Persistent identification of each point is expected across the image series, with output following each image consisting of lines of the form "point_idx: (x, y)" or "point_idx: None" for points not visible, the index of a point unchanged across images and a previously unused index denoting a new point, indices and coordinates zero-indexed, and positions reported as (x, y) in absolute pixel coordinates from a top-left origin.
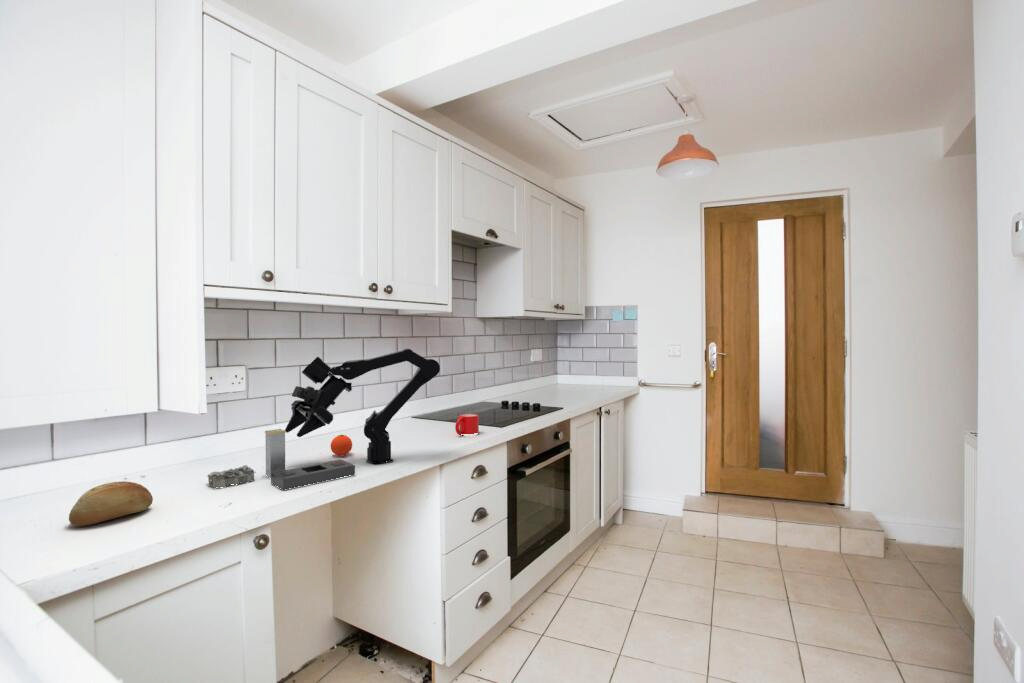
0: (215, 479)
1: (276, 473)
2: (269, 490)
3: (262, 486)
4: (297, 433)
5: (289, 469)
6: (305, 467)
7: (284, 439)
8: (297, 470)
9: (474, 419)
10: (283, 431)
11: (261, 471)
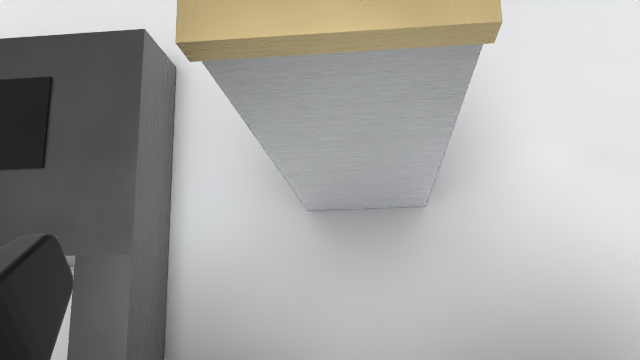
0: None
1: (80, 54)
2: (30, 20)
3: (151, 8)
4: (26, 244)
5: (122, 173)
6: (80, 309)
7: (230, 92)
8: (38, 215)
9: None
10: (180, 8)
11: (591, 104)
